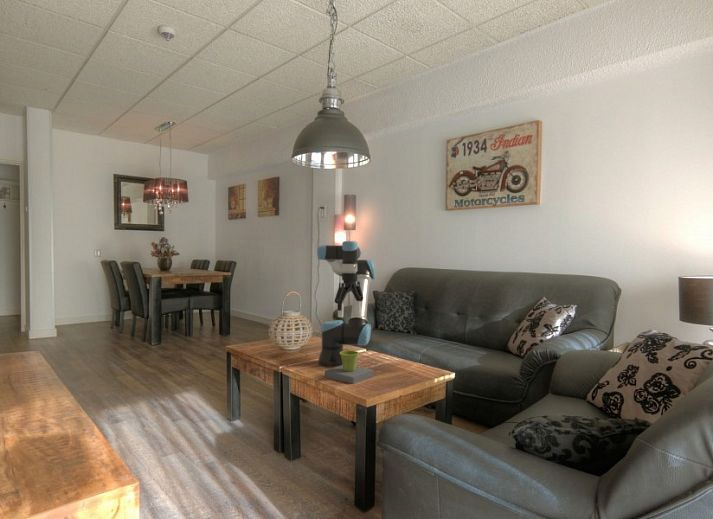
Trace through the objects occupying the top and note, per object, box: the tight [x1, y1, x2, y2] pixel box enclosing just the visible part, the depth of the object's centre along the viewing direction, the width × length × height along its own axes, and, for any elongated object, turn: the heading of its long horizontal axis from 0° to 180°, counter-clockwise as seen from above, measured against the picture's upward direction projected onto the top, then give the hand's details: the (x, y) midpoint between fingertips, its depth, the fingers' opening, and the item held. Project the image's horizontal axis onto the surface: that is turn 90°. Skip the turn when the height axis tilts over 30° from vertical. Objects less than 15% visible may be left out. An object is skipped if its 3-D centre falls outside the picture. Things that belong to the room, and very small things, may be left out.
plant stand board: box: [324, 365, 374, 384], centre depth 210 cm, size 18×16×3 cm
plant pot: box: [340, 350, 360, 372], centre depth 210 cm, size 9×9×9 cm
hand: (349, 315), depth 209 cm, fingers open, 13 cm apart
